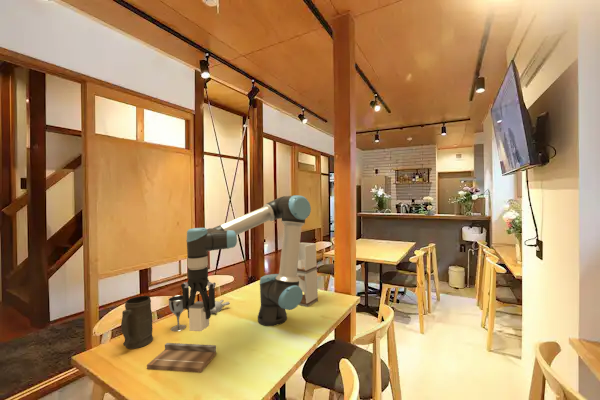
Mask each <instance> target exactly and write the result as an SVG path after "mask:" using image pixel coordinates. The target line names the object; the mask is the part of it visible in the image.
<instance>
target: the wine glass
mask: <svg viewBox="0 0 600 400" xmlns="http://www.w3.org/2000/svg"><path fill="white" fill-rule="evenodd" d="M168 306H169V311H170V312H171V313H173V315H174V316H175V317H176V322H177V325H175V326H172V327H171V328H170V331H171V332H175V333H176V332H180V331H183V330H185V329H186V328H187V325H185V324H180V316H181V315H182V313H183V312H184V311H185V309H183V294H179V295H178V294H177V295H173V296H172V297H169V298H168Z"/></svg>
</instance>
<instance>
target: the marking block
mask: <svg viewBox="0 0 600 400" xmlns="http://www.w3.org/2000/svg"><path fill="white" fill-rule="evenodd" d="M204 311H205V308H204V304H203V301H200V300H199V301H195V302H194V304H193V305H191V306H190V307H189V318H188V319H189V320H188V322H189V323H188V324H189V326H188V328H189V331H190V332H202V331H203V330H205V329H204V319H203V312H204Z"/></svg>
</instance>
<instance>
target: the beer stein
mask: <svg viewBox="0 0 600 400" xmlns="http://www.w3.org/2000/svg"><path fill="white" fill-rule="evenodd" d="M151 303H152V300H151V297H150V295H149V296H148V295H139V296H134V297H132V298H128V299H127V300H126V301H125V303H124V304H125V305H124V308H125V309H124V310H122V318H121V323H120V329H121V333H122V335H123V338H124V341H123V346H124V347H125V348H127V349H130V350H133V349H134V350H135V349H139V348H143V347H145V346H147V345H149V344H151V342H152V341H154V337H153V328H154V327H153V314H152V313H153V311H152V305H151Z"/></svg>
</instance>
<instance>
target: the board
mask: <svg viewBox="0 0 600 400" xmlns="http://www.w3.org/2000/svg"><path fill="white" fill-rule="evenodd" d="M216 354H217V345H215V344H198V343H197V344H196V343H193V344H192V343H180V342H178V343H177V342H166V343H165V344H164V350H162V351H161V352H160V353H159V354H158V355H157V356H155V357H154V358H153V359H152V360H151V361H150V362H148V363H147V364H146V369H147V370H160V371H173V372H189V373H199V374H200V373H202V372H203V371H204V370H205V368H206V367H208V365H209V364H210V362H211V361H212V360H213V359H214V357H215V356H216Z"/></svg>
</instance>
